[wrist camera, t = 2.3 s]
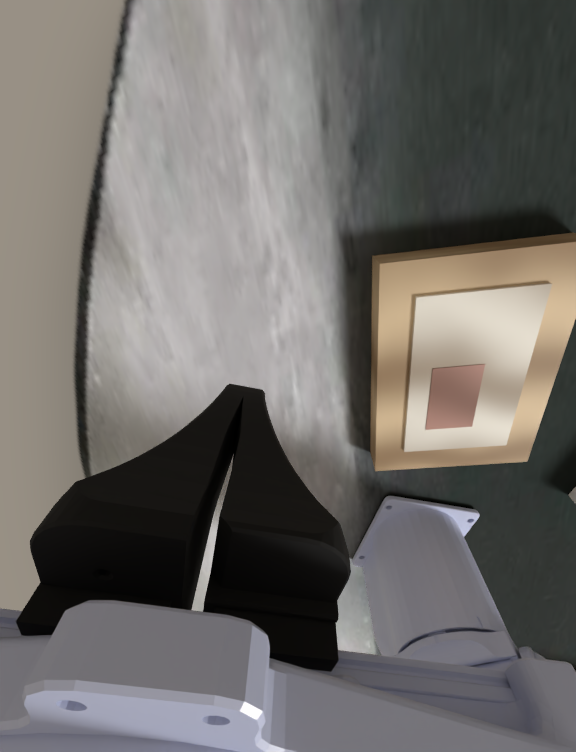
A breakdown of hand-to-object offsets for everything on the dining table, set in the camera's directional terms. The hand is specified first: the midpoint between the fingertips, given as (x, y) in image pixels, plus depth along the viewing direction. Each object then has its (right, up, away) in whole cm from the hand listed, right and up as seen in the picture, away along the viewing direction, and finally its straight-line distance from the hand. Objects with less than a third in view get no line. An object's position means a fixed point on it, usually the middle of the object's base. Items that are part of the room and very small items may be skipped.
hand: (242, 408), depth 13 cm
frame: (+12, +2, +9) cm, 15 cm away
